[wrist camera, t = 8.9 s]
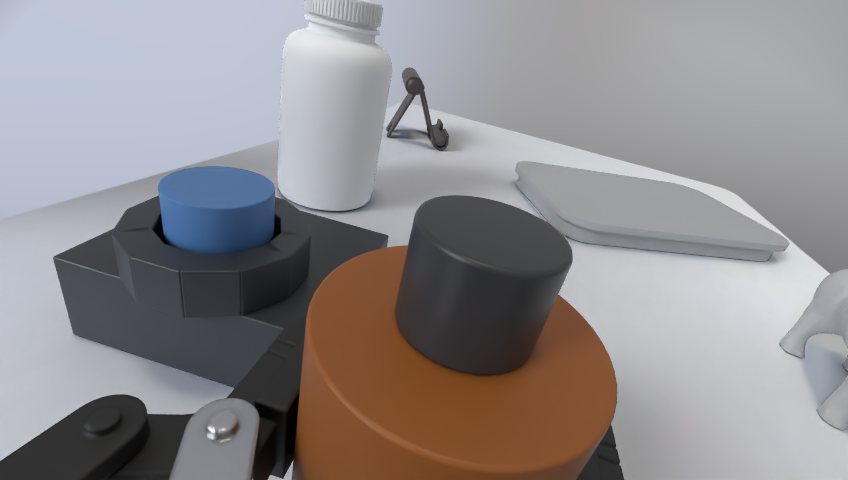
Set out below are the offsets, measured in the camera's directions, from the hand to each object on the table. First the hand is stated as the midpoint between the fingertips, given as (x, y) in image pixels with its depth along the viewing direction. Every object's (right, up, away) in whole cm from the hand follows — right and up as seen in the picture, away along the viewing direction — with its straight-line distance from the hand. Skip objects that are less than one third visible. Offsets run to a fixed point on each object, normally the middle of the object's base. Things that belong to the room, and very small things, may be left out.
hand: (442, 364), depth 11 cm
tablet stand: (-2, +18, +46) cm, 49 cm away
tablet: (+23, +6, +34) cm, 42 cm away
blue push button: (-9, +4, +5) cm, 11 cm away
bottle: (-2, -7, +1) cm, 7 cm away
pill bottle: (-9, +7, +24) cm, 27 cm away
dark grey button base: (-9, 0, +10) cm, 14 cm away
